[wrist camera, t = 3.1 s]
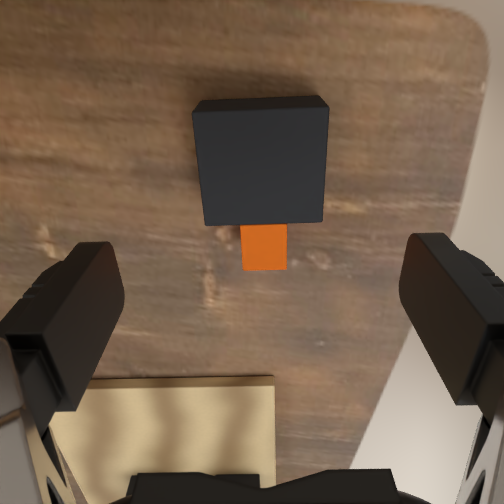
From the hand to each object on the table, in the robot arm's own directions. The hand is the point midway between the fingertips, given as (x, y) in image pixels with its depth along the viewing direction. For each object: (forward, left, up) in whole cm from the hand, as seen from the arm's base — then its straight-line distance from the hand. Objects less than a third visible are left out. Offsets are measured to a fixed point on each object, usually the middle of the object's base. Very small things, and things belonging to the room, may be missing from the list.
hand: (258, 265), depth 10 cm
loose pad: (0, +2, -11) cm, 12 cm away
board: (+9, +28, -11) cm, 32 cm away
